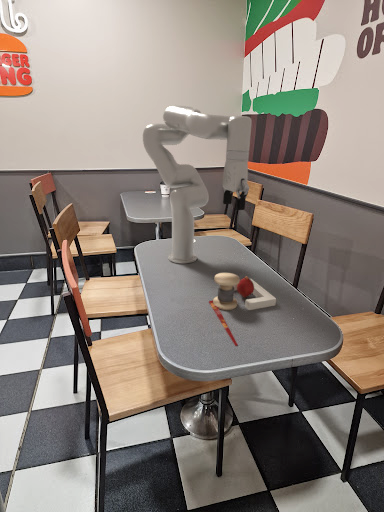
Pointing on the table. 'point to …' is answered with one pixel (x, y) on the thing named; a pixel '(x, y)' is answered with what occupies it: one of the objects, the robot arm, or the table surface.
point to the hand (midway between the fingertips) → (233, 206)
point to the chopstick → (222, 321)
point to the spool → (226, 291)
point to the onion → (245, 287)
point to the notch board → (259, 298)
